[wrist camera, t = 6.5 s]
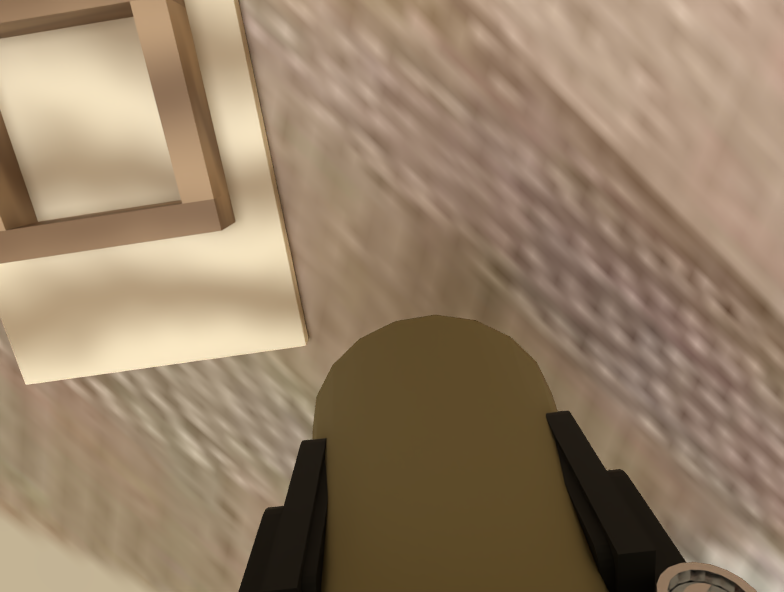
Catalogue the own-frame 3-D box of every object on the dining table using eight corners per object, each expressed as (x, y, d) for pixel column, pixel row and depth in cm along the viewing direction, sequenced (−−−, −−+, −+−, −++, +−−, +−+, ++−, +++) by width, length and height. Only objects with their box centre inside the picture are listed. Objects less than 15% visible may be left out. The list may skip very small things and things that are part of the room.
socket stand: (308, 338, 31) (298, 364, 28) (36, 377, 32) (-5, 406, 29) (225, -62, 25) (200, -90, 22) (-106, -5, 26) (-178, -24, 23)
